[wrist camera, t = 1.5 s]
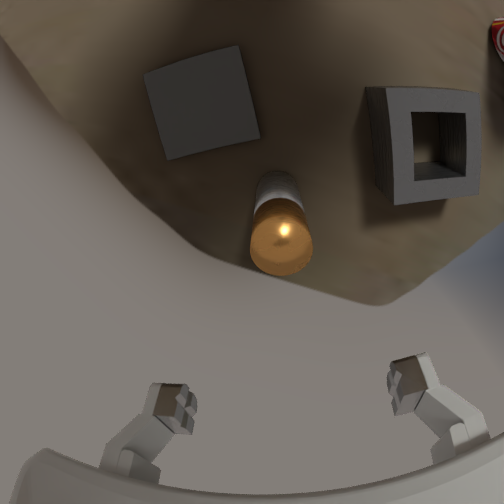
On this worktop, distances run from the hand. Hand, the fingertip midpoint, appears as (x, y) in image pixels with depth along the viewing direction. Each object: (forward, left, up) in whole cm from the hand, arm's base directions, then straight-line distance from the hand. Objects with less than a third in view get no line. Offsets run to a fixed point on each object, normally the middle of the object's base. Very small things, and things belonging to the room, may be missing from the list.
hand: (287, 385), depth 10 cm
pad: (-10, -5, -21) cm, 24 cm away
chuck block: (-4, +15, -21) cm, 26 cm away
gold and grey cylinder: (0, 0, -21) cm, 21 cm away
